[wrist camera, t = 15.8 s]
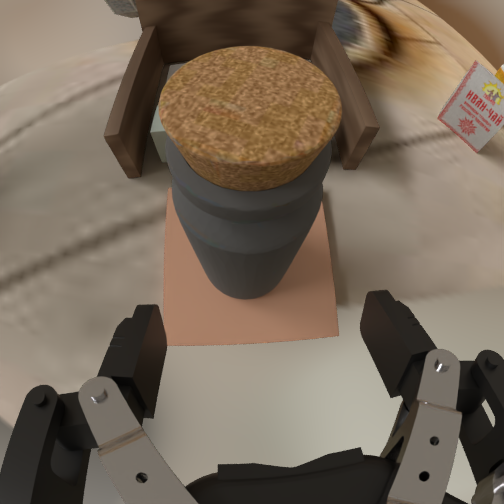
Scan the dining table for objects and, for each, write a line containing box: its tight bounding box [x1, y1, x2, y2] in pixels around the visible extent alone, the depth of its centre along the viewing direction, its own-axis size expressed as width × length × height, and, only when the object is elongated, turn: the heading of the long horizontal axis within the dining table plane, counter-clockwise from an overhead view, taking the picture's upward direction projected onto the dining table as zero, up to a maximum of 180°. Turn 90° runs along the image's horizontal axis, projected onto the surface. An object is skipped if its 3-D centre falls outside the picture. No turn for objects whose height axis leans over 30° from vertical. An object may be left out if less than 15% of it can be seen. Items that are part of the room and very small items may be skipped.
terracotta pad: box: [164, 188, 339, 346], centre depth 21 cm, size 12×12×1 cm
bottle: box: [159, 46, 342, 300], centre depth 14 cm, size 6×6×15 cm
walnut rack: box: [104, 0, 380, 178], centre depth 20 cm, size 21×19×14 cm
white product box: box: [438, 60, 504, 153], centre depth 23 cm, size 4×7×10 cm, turn 50°
